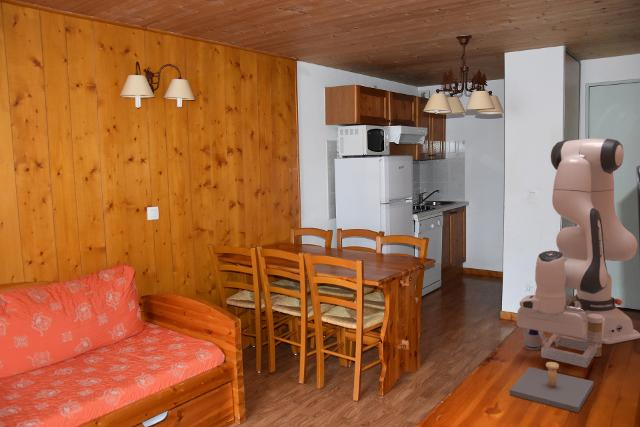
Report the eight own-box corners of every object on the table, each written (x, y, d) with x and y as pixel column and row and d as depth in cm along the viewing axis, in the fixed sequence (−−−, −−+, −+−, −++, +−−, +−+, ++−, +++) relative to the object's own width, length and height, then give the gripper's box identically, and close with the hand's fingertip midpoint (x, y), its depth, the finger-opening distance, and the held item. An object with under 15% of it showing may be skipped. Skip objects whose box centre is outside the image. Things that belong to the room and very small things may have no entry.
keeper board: (529, 371, 166) (530, 347, 165) (593, 386, 155) (594, 360, 154) (509, 394, 152) (509, 368, 151) (578, 412, 141) (578, 384, 140)
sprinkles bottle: (595, 351, 179) (596, 312, 177) (605, 356, 174) (606, 316, 172) (583, 352, 178) (584, 314, 176) (592, 358, 173) (593, 318, 171)
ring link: (553, 342, 176) (553, 333, 176) (596, 351, 168) (597, 342, 168) (541, 356, 166) (541, 347, 166) (586, 367, 158) (587, 358, 158)
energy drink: (542, 350, 181) (542, 316, 179) (525, 350, 182) (525, 316, 180) (539, 344, 186) (539, 311, 184) (522, 344, 187) (523, 311, 186)
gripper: (589, 305, 164) (588, 348, 166) (521, 295, 177) (521, 335, 179) (583, 311, 159) (583, 355, 161) (514, 301, 172) (514, 342, 174)
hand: (550, 344), depth 170 cm, fingers closed on ring link, 2 cm apart
